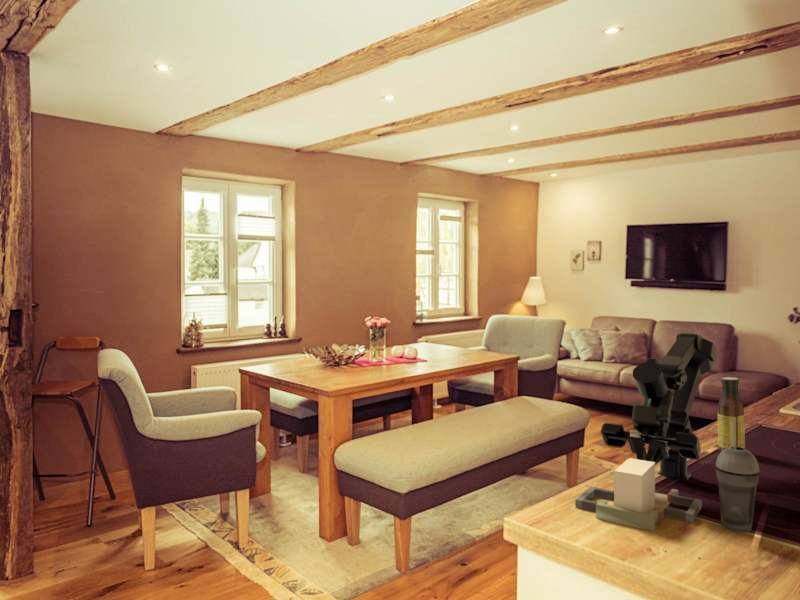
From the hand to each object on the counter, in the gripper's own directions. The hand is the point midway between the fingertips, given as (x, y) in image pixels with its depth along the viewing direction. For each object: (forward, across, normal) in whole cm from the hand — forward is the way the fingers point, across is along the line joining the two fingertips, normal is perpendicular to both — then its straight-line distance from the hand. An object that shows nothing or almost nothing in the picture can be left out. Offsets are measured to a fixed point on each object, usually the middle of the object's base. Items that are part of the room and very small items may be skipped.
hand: (641, 476), depth 121 cm
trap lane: (+6, 0, +4) cm, 7 cm away
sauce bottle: (-34, +9, +43) cm, 56 cm away
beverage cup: (+6, +17, +4) cm, 18 cm away
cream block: (+8, 0, 0) cm, 8 cm away
